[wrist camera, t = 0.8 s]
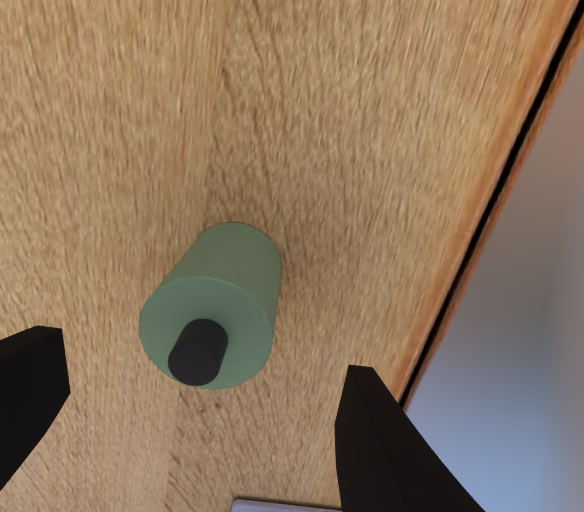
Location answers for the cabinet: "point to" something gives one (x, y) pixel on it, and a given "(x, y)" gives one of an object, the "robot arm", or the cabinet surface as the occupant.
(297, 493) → the cabinet surface
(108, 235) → the cabinet surface
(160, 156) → the cabinet surface
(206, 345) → the sanitizer bottle
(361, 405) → the robot arm
